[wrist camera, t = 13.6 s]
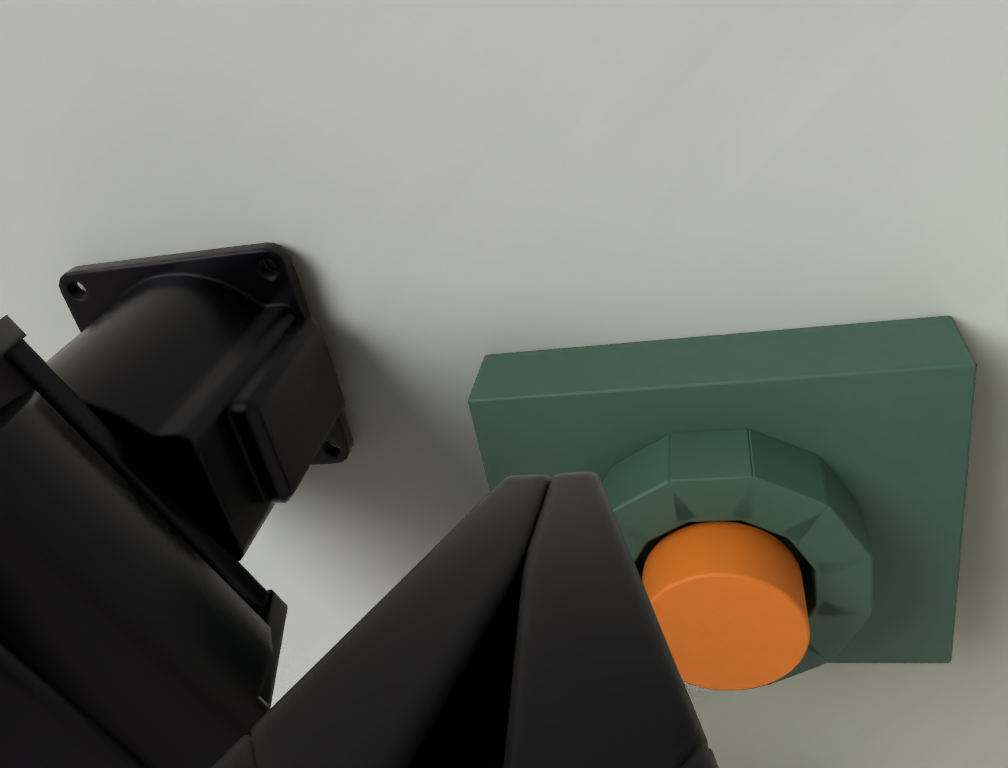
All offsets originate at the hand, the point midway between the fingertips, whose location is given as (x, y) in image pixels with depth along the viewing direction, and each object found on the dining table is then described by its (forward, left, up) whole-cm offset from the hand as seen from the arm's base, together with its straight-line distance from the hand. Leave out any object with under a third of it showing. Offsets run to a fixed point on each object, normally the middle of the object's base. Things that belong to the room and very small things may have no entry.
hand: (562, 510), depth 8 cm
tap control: (+1, -10, -13) cm, 16 cm away
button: (+1, -10, -9) cm, 14 cm away
